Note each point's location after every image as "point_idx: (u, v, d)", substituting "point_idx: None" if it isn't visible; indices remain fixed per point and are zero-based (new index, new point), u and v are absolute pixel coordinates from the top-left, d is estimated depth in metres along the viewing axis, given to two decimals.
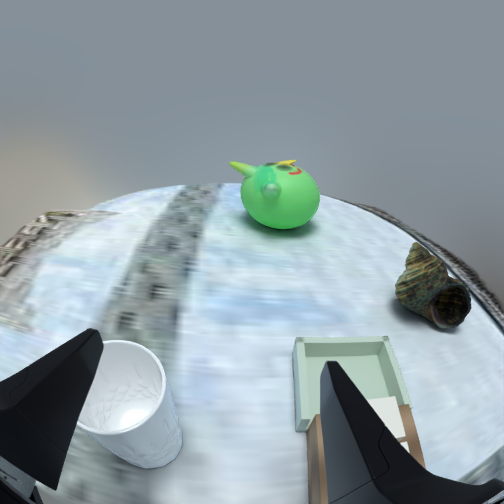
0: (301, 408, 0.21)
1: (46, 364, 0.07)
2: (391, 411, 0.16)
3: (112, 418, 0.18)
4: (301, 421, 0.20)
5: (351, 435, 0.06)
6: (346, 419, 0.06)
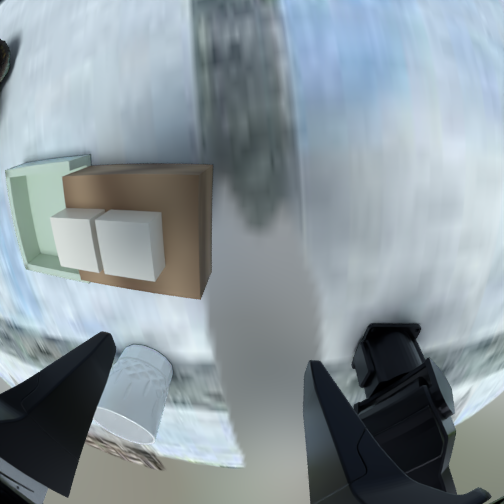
0: (80, 280, 0.22)
1: (58, 370, 0.07)
2: (64, 228, 0.16)
3: None
4: None
5: (329, 436, 0.06)
6: (325, 420, 0.06)
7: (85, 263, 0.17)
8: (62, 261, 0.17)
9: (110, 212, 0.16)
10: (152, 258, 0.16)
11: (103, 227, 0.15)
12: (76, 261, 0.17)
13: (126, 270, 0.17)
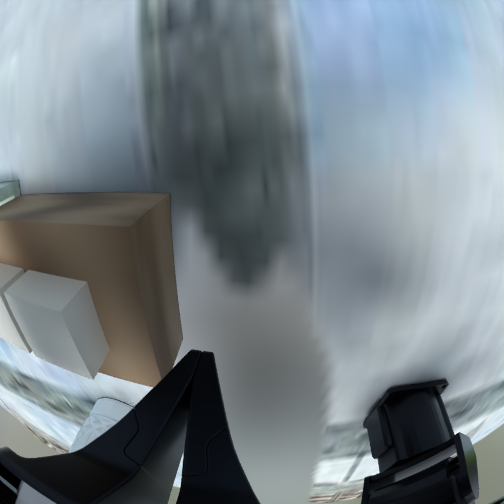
0: None
1: (159, 402, 0.06)
2: None
3: None
4: None
5: (187, 427, 0.06)
6: (189, 410, 0.06)
7: (13, 339, 0.09)
8: None
9: (25, 277, 0.09)
10: (81, 354, 0.09)
11: (14, 304, 0.08)
12: (4, 334, 0.09)
13: (56, 359, 0.09)
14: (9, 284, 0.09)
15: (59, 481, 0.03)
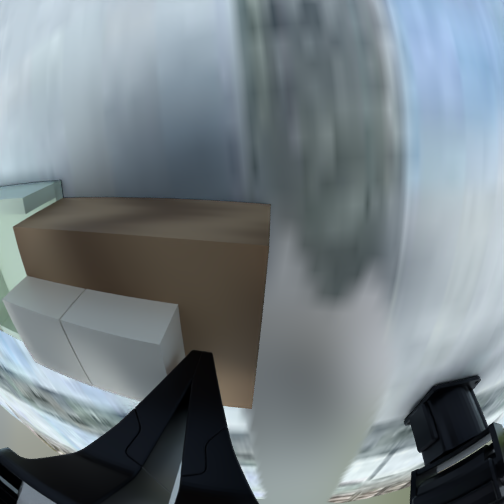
0: None
1: (161, 402, 0.06)
2: (25, 320, 0.08)
3: None
4: None
5: (185, 427, 0.06)
6: (187, 410, 0.06)
7: (68, 371, 0.09)
8: (35, 358, 0.09)
9: (86, 300, 0.09)
10: None
11: (76, 333, 0.08)
12: (54, 364, 0.09)
13: (127, 391, 0.09)
14: None
15: (61, 482, 0.03)
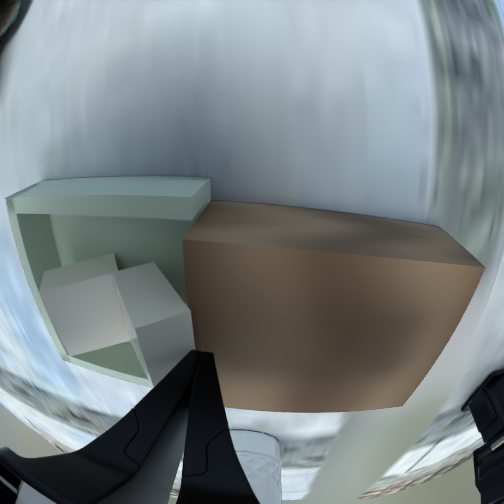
0: None
1: (159, 402, 0.06)
2: None
3: None
4: None
5: (187, 427, 0.06)
6: (189, 410, 0.06)
7: None
8: None
9: (142, 269, 0.11)
10: (151, 373, 0.09)
11: (116, 289, 0.10)
12: None
13: (138, 358, 0.11)
14: None
15: (59, 481, 0.03)
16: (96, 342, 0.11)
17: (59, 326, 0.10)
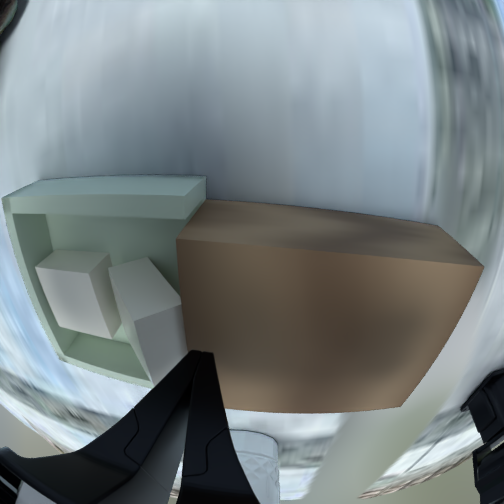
0: None
1: (159, 402, 0.06)
2: None
3: None
4: None
5: (187, 427, 0.06)
6: (189, 410, 0.06)
7: None
8: None
9: (137, 264, 0.11)
10: (148, 364, 0.09)
11: (112, 284, 0.11)
12: None
13: (135, 349, 0.11)
14: None
15: (59, 481, 0.03)
16: (77, 325, 0.12)
17: (50, 299, 0.12)
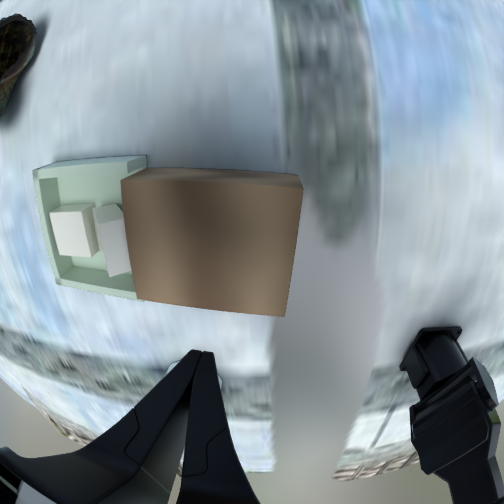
0: (131, 298, 0.21)
1: (159, 402, 0.06)
2: None
3: None
4: None
5: (187, 427, 0.06)
6: (189, 410, 0.06)
7: None
8: None
9: (108, 206, 0.19)
10: (106, 256, 0.17)
11: (94, 216, 0.18)
12: None
13: (102, 258, 0.19)
14: None
15: (59, 481, 0.03)
16: (71, 251, 0.20)
17: (56, 234, 0.19)
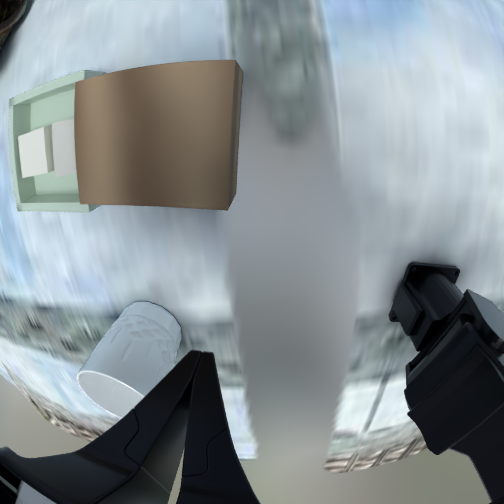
0: (79, 211, 0.18)
1: (159, 402, 0.06)
2: None
3: None
4: (92, 209, 0.18)
5: (187, 427, 0.06)
6: (189, 410, 0.06)
7: None
8: None
9: None
10: (54, 155, 0.14)
11: None
12: None
13: None
14: None
15: (59, 481, 0.03)
16: (32, 170, 0.17)
17: (21, 157, 0.16)
